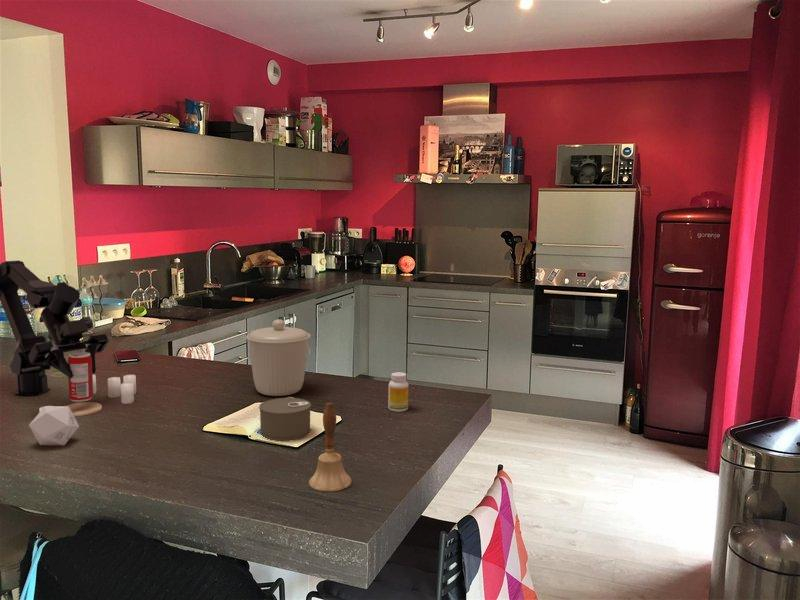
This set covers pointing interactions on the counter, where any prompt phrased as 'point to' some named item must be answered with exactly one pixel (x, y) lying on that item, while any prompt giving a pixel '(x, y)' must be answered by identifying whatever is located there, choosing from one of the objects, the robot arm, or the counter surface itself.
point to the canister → (278, 358)
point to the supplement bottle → (398, 392)
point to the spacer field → (118, 388)
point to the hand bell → (330, 459)
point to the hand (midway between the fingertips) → (83, 374)
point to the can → (285, 419)
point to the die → (54, 425)
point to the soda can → (80, 376)
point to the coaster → (84, 408)
